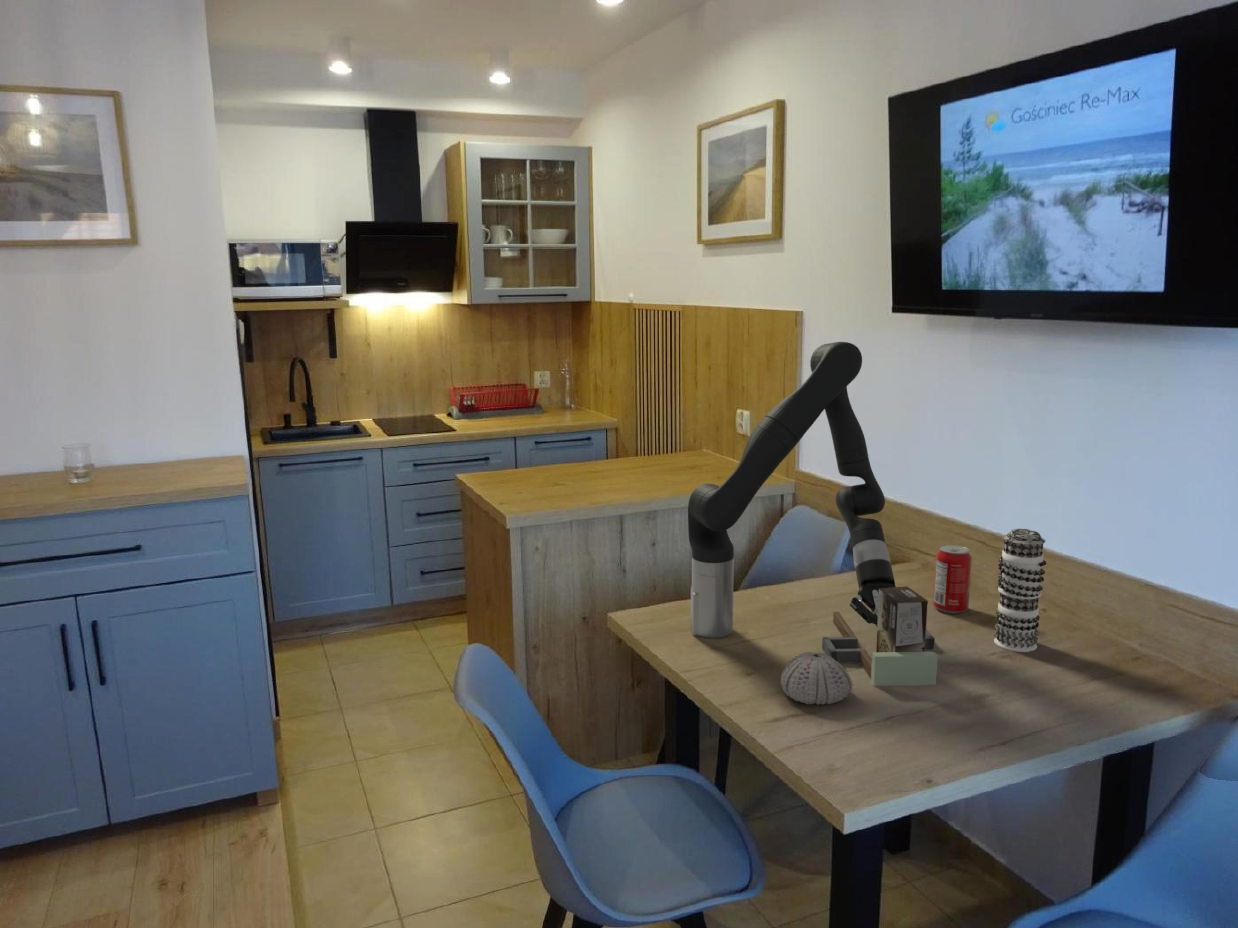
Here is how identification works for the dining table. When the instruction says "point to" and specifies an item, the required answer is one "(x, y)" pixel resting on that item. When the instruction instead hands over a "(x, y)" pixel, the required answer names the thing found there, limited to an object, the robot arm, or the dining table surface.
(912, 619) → the coffee box
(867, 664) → the walnut lane
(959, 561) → the soda can
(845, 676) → the sea urchin shell
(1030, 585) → the white grey tall cylinder
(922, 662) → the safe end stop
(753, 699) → the dining table surface
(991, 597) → the dining table surface
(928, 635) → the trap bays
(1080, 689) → the dining table surface
